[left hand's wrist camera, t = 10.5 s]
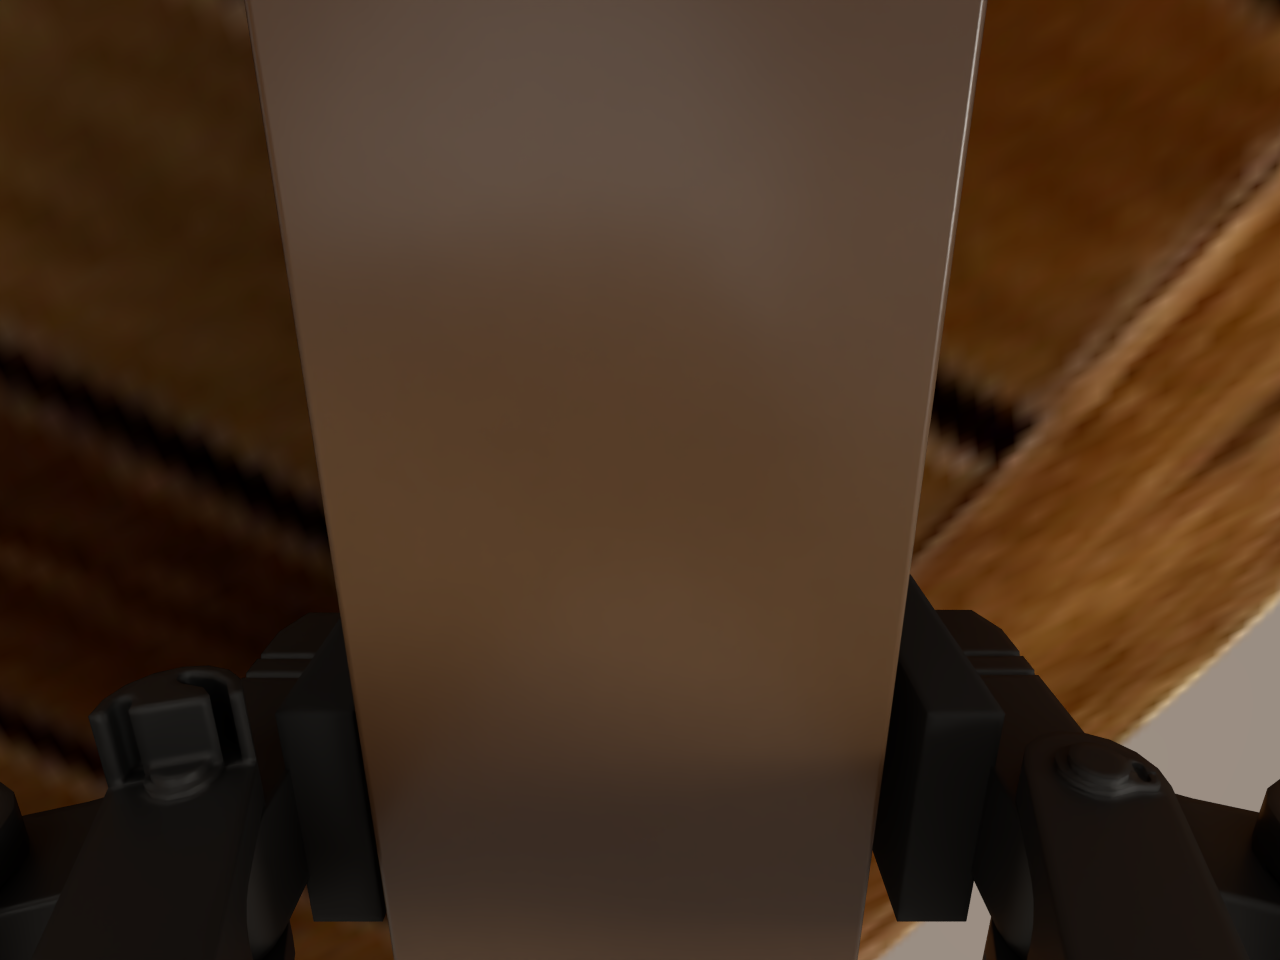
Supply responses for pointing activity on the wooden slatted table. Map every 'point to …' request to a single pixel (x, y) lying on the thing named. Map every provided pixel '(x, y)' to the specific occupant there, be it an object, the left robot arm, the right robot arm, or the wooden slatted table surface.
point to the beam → (620, 442)
